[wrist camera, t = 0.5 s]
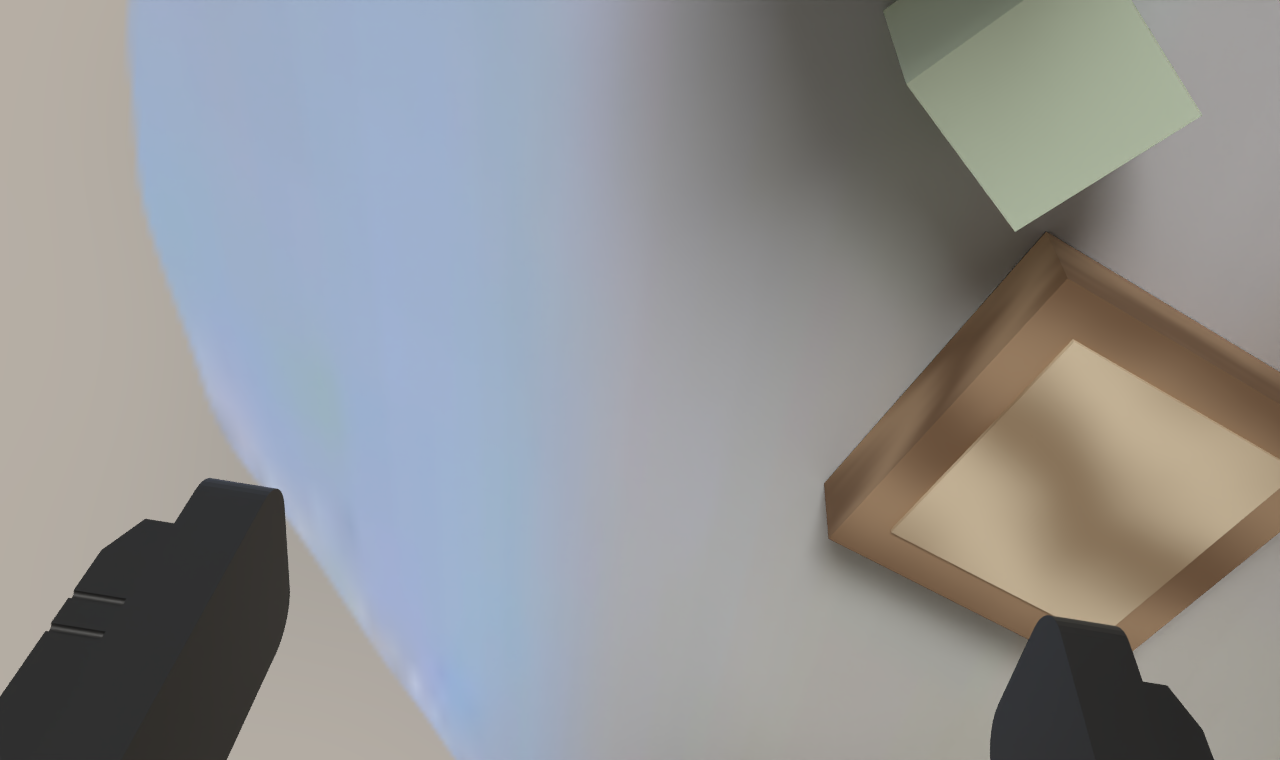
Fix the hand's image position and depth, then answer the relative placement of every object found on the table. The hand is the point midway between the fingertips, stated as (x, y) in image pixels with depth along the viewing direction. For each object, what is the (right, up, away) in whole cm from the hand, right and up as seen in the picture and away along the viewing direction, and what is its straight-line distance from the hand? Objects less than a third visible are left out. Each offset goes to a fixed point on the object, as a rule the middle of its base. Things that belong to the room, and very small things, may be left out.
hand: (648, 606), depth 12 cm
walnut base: (+15, 0, +28) cm, 32 cm away
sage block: (+10, +12, +20) cm, 26 cm away
